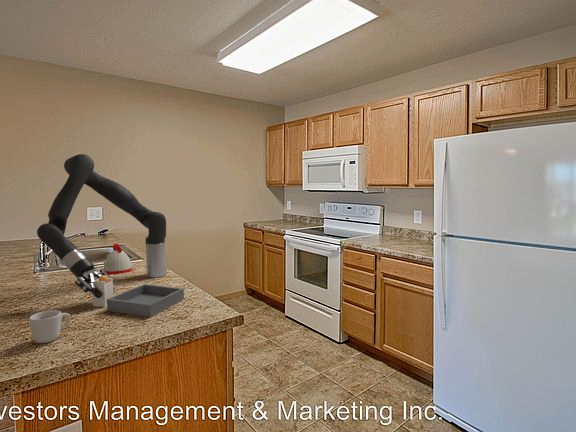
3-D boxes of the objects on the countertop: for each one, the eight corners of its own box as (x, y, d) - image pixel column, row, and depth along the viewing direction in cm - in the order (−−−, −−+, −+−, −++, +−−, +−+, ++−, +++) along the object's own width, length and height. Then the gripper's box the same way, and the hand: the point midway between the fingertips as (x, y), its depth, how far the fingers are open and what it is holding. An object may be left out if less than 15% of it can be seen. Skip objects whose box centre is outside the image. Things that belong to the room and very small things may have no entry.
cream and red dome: (123, 266, 195) (122, 240, 193) (137, 270, 187) (136, 243, 186) (98, 271, 184) (97, 244, 182) (111, 275, 176) (110, 247, 174)
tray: (144, 294, 147) (144, 284, 147) (184, 299, 141) (183, 288, 141) (107, 310, 128) (106, 299, 128) (150, 317, 122) (150, 305, 122)
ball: (103, 280, 136) (105, 272, 136) (109, 283, 135) (111, 276, 135) (95, 282, 133) (97, 275, 132) (102, 286, 132) (104, 278, 131)
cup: (65, 328, 113) (64, 305, 112) (76, 335, 108) (75, 310, 107) (26, 341, 104) (24, 316, 103) (37, 348, 99) (35, 322, 98)
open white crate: (93, 306, 133) (91, 281, 132) (102, 301, 138) (100, 277, 137) (105, 306, 132) (103, 281, 131) (113, 302, 137) (112, 278, 136)
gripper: (69, 261, 127) (100, 293, 127) (96, 253, 141) (123, 282, 141) (58, 274, 129) (88, 306, 128) (85, 265, 143) (112, 293, 142)
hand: (106, 293), depth 135 cm, fingers open, 6 cm apart
